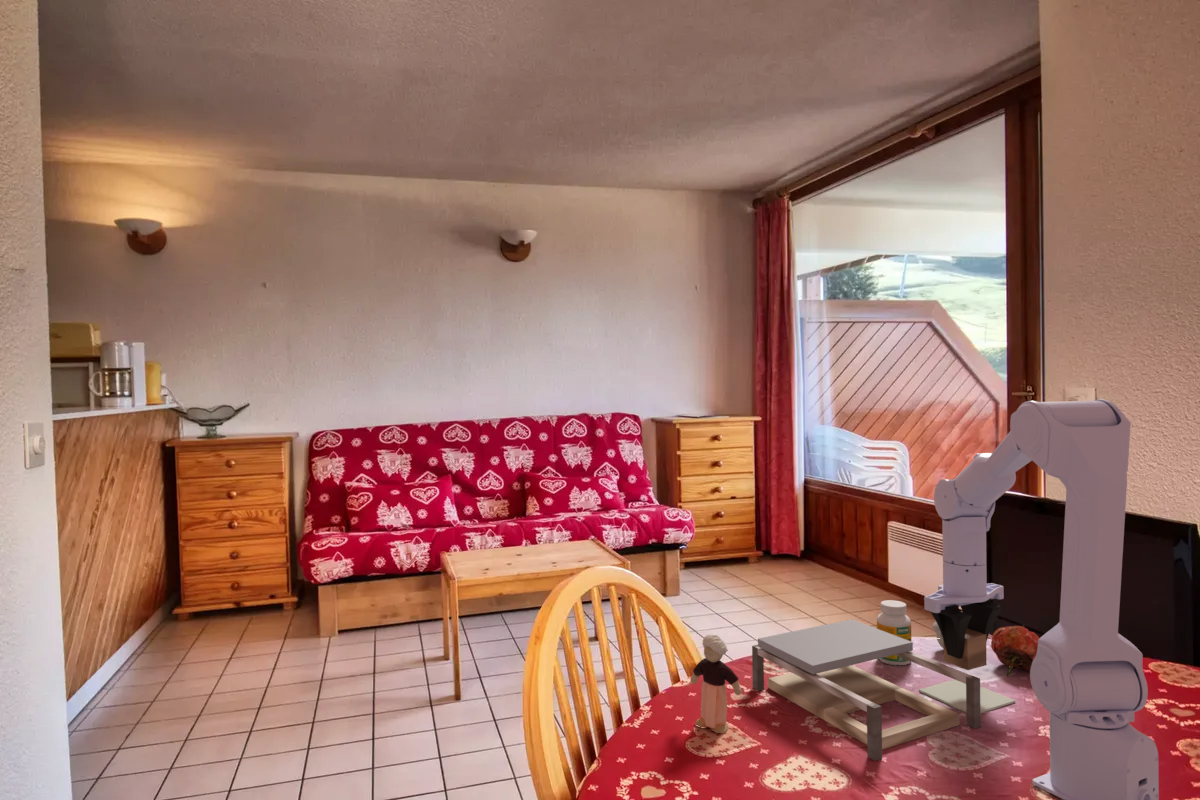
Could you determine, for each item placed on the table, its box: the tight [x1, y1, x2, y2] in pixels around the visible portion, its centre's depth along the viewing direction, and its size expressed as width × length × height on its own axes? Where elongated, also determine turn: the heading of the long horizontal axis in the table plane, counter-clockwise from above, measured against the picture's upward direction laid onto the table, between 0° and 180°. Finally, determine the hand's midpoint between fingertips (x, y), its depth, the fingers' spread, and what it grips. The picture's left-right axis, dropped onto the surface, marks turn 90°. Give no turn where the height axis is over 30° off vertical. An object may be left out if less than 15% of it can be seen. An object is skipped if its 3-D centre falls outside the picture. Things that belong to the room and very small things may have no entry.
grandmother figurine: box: [690, 634, 743, 734], centre depth 96 cm, size 8×4×13 cm, turn 62°
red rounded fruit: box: [990, 624, 1040, 677], centre depth 114 cm, size 7×7×10 cm
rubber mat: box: [918, 679, 1016, 714], centre depth 104 cm, size 9×9×1 cm
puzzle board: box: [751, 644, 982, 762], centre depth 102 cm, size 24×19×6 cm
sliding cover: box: [757, 618, 914, 674], centre depth 106 cm, size 12×19×1 cm, turn 115°
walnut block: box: [943, 628, 987, 671], centre depth 104 cm, size 4×4×4 cm
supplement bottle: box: [876, 599, 913, 667], centre depth 119 cm, size 5×5×10 cm
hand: (965, 653), depth 104 cm, fingers closed on walnut block, 4 cm apart
